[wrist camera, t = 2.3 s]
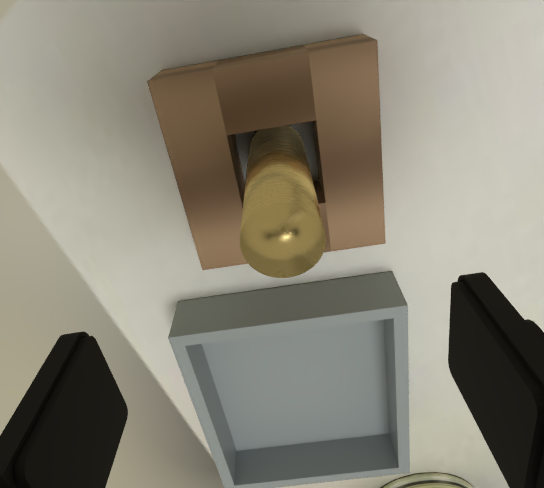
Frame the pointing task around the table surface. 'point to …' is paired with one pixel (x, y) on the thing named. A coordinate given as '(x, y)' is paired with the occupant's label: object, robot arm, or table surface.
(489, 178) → the table surface
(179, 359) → the pin tray
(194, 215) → the pin bracket
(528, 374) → the robot arm
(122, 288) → the table surface
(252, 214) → the pin
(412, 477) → the coffee can
